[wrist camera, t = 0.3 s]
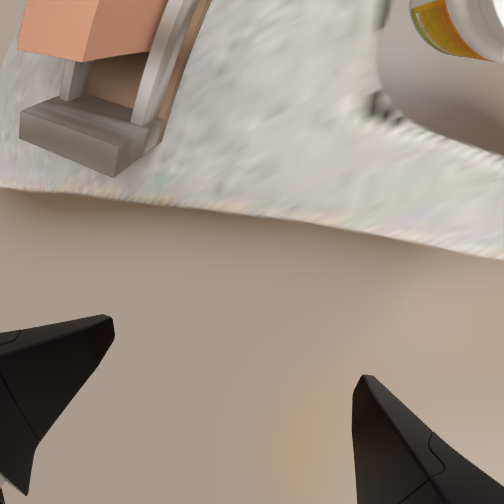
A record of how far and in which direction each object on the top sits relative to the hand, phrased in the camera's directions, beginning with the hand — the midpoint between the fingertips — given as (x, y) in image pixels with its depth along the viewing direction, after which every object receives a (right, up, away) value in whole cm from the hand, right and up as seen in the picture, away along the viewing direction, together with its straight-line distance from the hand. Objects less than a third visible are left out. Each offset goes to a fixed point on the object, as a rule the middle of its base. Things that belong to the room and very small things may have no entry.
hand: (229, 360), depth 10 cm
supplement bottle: (+13, +19, +3) cm, 23 cm away
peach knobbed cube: (-6, +19, +4) cm, 21 cm away
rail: (-7, +18, +7) cm, 21 cm away
